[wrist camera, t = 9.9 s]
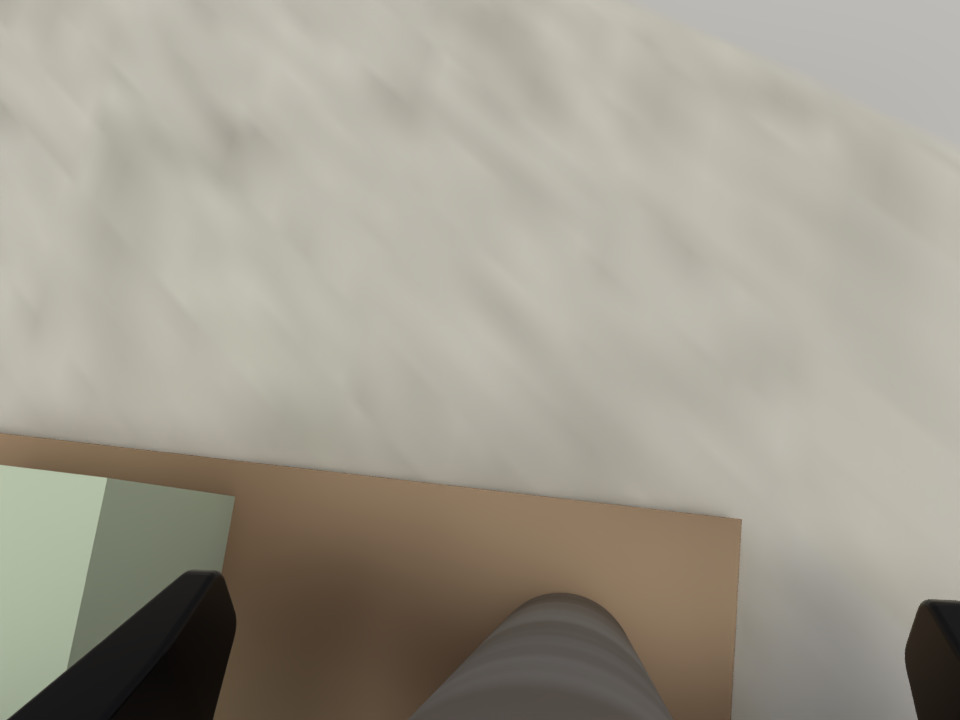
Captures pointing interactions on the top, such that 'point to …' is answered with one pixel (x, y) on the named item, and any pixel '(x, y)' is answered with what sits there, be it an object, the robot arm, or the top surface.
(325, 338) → the top surface
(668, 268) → the top surface
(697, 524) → the grey post on base
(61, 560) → the sage cube
